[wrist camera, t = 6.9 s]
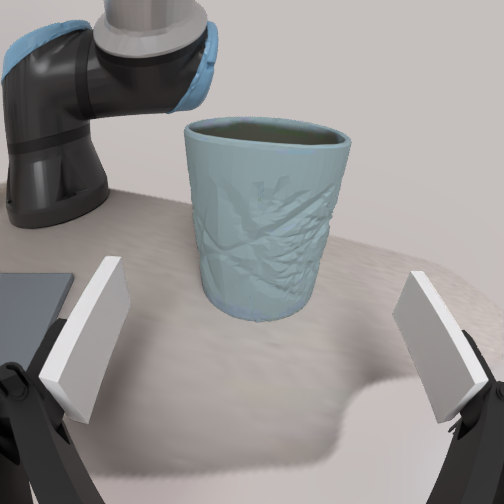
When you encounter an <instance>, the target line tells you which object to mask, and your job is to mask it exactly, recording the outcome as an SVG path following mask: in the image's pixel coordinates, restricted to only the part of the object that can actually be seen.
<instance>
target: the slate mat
mask: <svg viewBox="0 0 504 504" xmlns="http://www.w3.org/2000/svg"><path fill="white" fill-rule="evenodd" d="M73 280H74V277H73V274H72V273H0V366H1V365H3V364H4V363H7V362H17V363H18V364H20V365H21V366H22V367H23V369H24V370H25V372H26V370H27V368H28V366H29V364H30V362H31V360H32V358H33V356H34V354H35V352H36V351H37V349H38V347H40V343H41V341H42V339H44V336H45V334H46V332H47V330H48V329H49V327H50V326H51V325H52V324H53V323H54V322H55V321H56V319H57V316H58V314H59V312H60V309H61V307H62V304H63V302H64V300H65V298H66V295H67V293H68V291H69V289H70V287H71V284H72V282H73Z"/></svg>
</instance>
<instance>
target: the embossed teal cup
mask: <svg viewBox="0 0 504 504" xmlns="http://www.w3.org/2000/svg"><path fill="white" fill-rule="evenodd" d="M184 137H185V146H186V155H187V165H188V171H189V178H190V179H189V180H190V186H191V200H192V204H193V210H194V211H193V221H194V226H195V233H196V235H195V237H196V243H197V245H198V246H197V249H198V252H199V253H200V255H201V256H200V271H201V278H202V285H203V288H204V291H205V294H206V296H207V297H208V299H209V300H210V302H211V303H212V304H213V305H214V306H215V307H217V308H218V309H220V310H221V311H223V312H224V313H226V314H228V315H230V316H232V317H235V318H239V319H244V320H248V321H256V322H263V321H273V320H279V319H282V318H285V317H288V316H290V315H292V314H294V313H296V312H298V311H299V310H300V309H302V308H303V307H304V306H305V305H306V303H307V302H308V300H309V299H310V297H311V294H312V291H313V288H314V284H315V280H316V276H317V273H318V270H319V264H320V263H319V261H320V258H321V257H322V252H323V250H324V248H325V245H326V242H327V237H328V235H329V228H330V226H329V220H330V219H331V218H332V213H333V209H334V208H335V205H336V203H337V199H338V195H339V191H340V187H341V180H342V177H343V175H344V171H345V167H346V163H347V159H348V155H349V151H350V147H351V139H350V138H349V137H348V136H347V135H345V134H344V133H342V132H340V131H337V130H335V129H332V128H328V127H325V126H321V125H317V124H313V123H308V122H302V121H296V120H289V119H280V118H267V117H226V118H214V119H206V120H201V121H197V122H193V123H190V124H189V125H187V126H186V127H185V129H184Z"/></svg>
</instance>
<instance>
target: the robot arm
mask: <svg viewBox="0 0 504 504" xmlns="http://www.w3.org/2000/svg"><path fill="white" fill-rule="evenodd" d="M104 7H105V13H104V14H102V16H101V17H100V18H99V19H98V21H97V22H96V24H95V26H94V29H93V30H92V27H91V26H90V23H88V22H87V21H83V20H70V21H66V22H64V23H55V24H51V25H48V26H45V27H42V28H39V29H37V30H34V31H32V32H30V33H28V34H26V35H24V36H23V37H21V38H20V39H18V40H17V41H16V42H15V43H13V44H12V45H11V46H10V48H9V49H8V50H7V52H6V54H5V57H4V63H3V74H2V80H1V84H2V89H3V109H4V121H5V131H6V139H7V147H8V154H9V168H8V179H7V193H6V208H7V212H8V216H9V220H10V222H11V223H12V224H13V225H15V226H17V227H22V228H38V227H45V226H50V225H55V224H58V223H62V222H65V221H68V220H71V219H74V218H76V217H79V216H81V215H83V214H85V213H87V212H89V211H91V210H93V209H94V208H96V207H97V206H99V205H100V204H101V203H102V202H103V201H104V200H105V199H106V198H107V196H108V194H109V190H108V182H107V176H106V173H105V171H104V169H103V167H102V164H101V162H100V160H99V157H98V155H97V153H96V151H95V148H94V146H93V143H92V141H91V135H90V119H97V118H105V117H114V116H126V115H139V114H156V113H166V114H170V113H173V112H176V111H188V110H193V109H195V108H197V107H199V106H200V105H201V104H202V102H203V101H204V100H205V98H206V96H207V93H208V91H209V88H210V85H211V82H212V78H213V74H214V64H215V62H216V57H217V50H218V30H217V27H216V25H215V24H214V23H213V22H210V21H207V14H206V12H205V10H204V8H203V7H202V6H201V5H200V4H198V3H197V2H196V1H195V0H104ZM130 306H131V301H130V297H129V292H128V288H127V283H126V278H125V273H124V268H123V263H122V258H121V257H115V256H106V257H105V258H104V260H103V261H102V263H101V264H100V266H99V268H98V269H97V271H96V272H95V274H94V276H93V277H92V279H91V280H90V282H89V284H88V285H87V287H86V289H85V290H84V292H83V294H82V295H81V297H80V299H79V300H78V302H77V304H76V306H75V307H74V309H73V311H72V313H71V314H70V316H69V318H68V320H67V319H61V318H59V319H58V320H56V321H55V322H54V323H53V324H52V325H51V326H50V327H49V329H48V330H47V332H46V334H45V336H44V339H42V341H41V343H40V347H38V349H37V351H36V352H35V354H34V356H33V358H32V360H31V362H30V364H29V366H28V368H27V370H26V372H25V370H24V369H23V367H22V366H21V365H20V364H18V363H17V362H7V363H4V364H3V365H1V366H0V504H33V500H32V494H31V489H30V484H31V486H32V489H33V491H34V493H35V496H36V498H37V501H38V503H39V504H105V503H104V501H103V499H102V498H101V496H100V494H99V493H98V491H97V489H96V487H95V485H94V484H93V482H92V480H91V478H90V476H89V474H88V473H87V471H86V469H85V467H84V465H83V463H82V461H81V459H80V457H79V455H78V453H77V450H76V448H75V446H74V444H73V442H72V440H71V437H70V435H69V433H68V430H67V428H66V426H65V423H64V422H63V420H62V418H63V415H64V412H65V413H66V415H67V416H68V417H69V418H70V419H71V420H74V421H77V422H81V423H85V424H88V423H89V420H90V417H91V414H92V410H93V407H94V404H95V401H96V398H97V395H98V392H99V389H100V386H101V383H102V380H103V377H104V374H105V372H106V369H107V366H108V363H109V360H110V358H111V355H112V352H113V350H114V347H115V344H116V342H117V339H118V336H119V334H120V331H121V329H122V326H123V324H124V321H125V319H126V316H127V314H128V311H129V309H130ZM392 315H393V317H394V319H395V321H396V323H397V325H398V327H399V330H400V332H401V334H402V336H403V338H404V341H405V343H406V345H407V347H408V350H409V352H410V354H411V357H412V359H413V361H414V364H415V366H416V368H417V371H418V373H419V376H420V378H421V381H422V383H423V385H424V388H425V391H426V393H427V396H428V398H429V401H430V403H431V406H432V409H433V411H434V414H435V417H436V420H437V423H442V422H446V421H450V420H452V419H453V418H454V417H455V416H456V415H457V414H458V413H459V412H460V415H461V418H460V419H459V420H458V421H457V422H456V423H455V424H454V425H453V426H452V427H451V428H450V429H449V431H448V432H451V431H452V430H453V429H454V428H456V429H455V432H454V433H453V434H454V436H453V438H452V441H451V444H450V447H449V450H448V453H447V455H446V458H445V461H444V463H443V466H442V469H441V471H440V473H439V476H438V478H437V481H436V483H435V485H434V488H433V490H432V492H431V494H430V496H429V499H428V500H427V503H426V504H504V382H501V381H498V382H497V381H496V380H495V378H494V376H493V374H492V372H491V370H490V369H489V367H488V365H487V363H486V361H485V359H484V358H483V356H481V352H480V350H479V349H478V348H477V345H476V343H475V342H474V340H473V338H472V337H471V336H470V335H469V334H468V333H467V332H466V331H465V330H461V329H460V327H459V326H458V324H457V322H456V321H455V319H454V318H453V316H452V314H451V313H450V311H449V310H448V308H447V306H446V305H445V303H444V302H443V300H442V299H441V297H440V296H439V294H438V293H437V291H436V290H435V288H434V287H433V285H432V284H431V282H430V281H429V279H428V278H427V276H426V275H425V273H424V272H423V271H410V274H409V276H408V279H407V281H406V284H405V286H404V289H403V291H402V293H401V296H400V298H399V300H398V303H397V305H396V307H395V309H394V312H393V314H392ZM29 481H30V484H29Z"/></svg>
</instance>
